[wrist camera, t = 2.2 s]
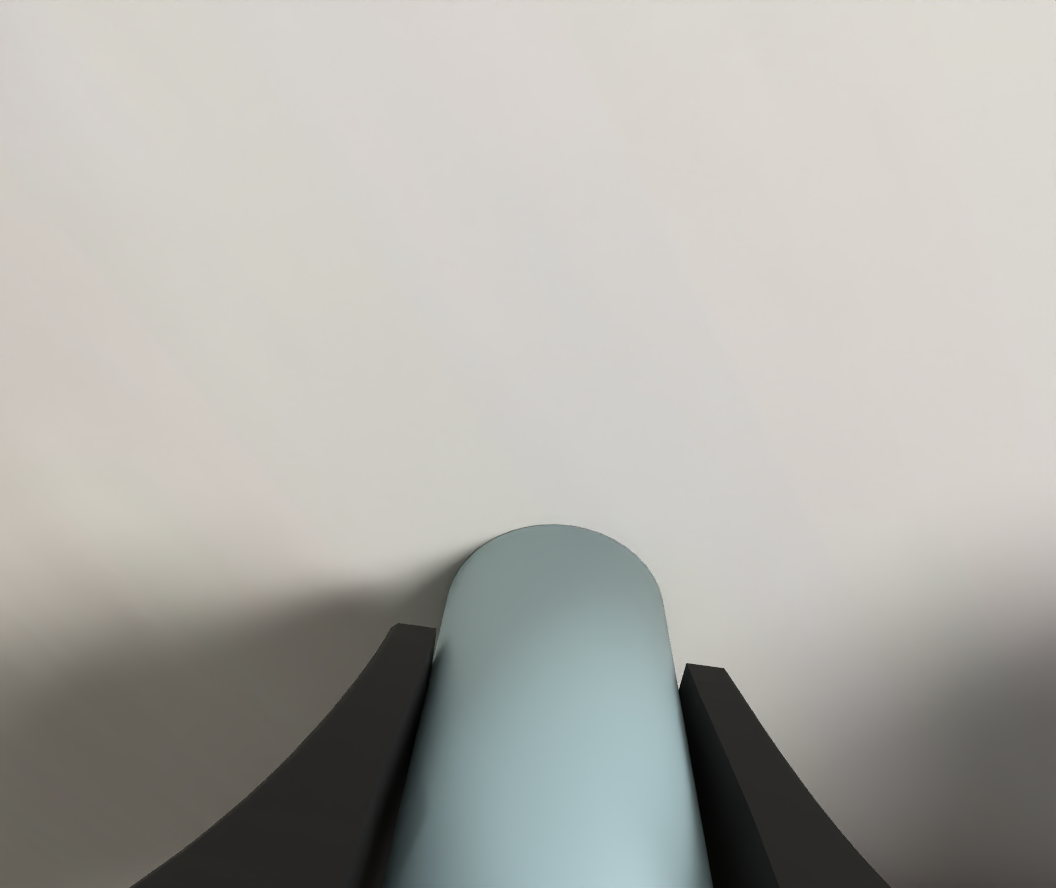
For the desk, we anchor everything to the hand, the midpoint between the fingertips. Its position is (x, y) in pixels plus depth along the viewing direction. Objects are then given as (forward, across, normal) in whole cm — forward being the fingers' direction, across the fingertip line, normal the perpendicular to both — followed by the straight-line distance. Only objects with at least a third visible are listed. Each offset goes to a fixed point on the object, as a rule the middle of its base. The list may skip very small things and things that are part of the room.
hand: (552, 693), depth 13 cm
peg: (+2, 0, 0) cm, 2 cm away
